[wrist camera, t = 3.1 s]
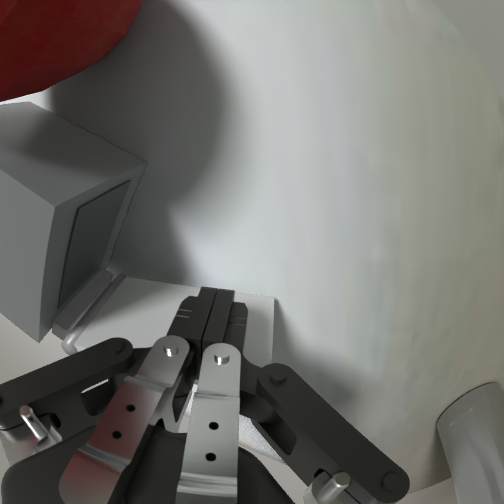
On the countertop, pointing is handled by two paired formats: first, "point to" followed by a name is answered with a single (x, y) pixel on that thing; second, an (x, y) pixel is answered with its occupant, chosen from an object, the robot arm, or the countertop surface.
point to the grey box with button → (57, 217)
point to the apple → (56, 39)
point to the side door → (161, 317)
